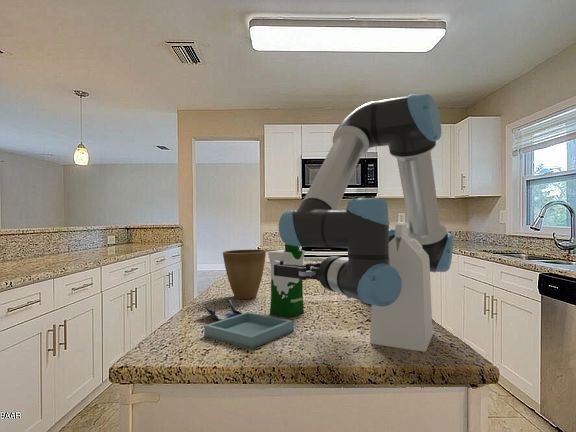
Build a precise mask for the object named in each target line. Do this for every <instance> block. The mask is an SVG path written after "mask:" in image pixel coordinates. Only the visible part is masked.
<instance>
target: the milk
mask: <svg viewBox="0 0 576 432" xmlns="http://www.w3.org/2000/svg"><path fill="white" fill-rule="evenodd" d="M407 228H408V225H407V223H395V227H394V229H395V237H394V238H393V239H392V240H391V241H390V242H389V265H390V266H392V267H394V268H395V269H396V270H397V271H398V272H399V275H400V277H401V279H402V289H401V293H400V295H399V297H398V298H397V300H396V301H395V302H393V303H392V304H390V305H388V306H384V307H383V306H376V305H371V308H370V309H371V310H370V312H371V313H370V336H369V344H371V345H377V346H378V345H379V346H386V347H390V348H391V347H392V348H398V349H405V350H412V351H418V352H419V351H420V352H427V350H428V348H429V345H430V342H431V340H432V337H433V335H434V332H433V331H434V329H433V312H432V311H433V309H432V307H433V306H432V291H431V290H432V289H431V287H432V286H431V272H430V262H429V256H428V254H427V253H426V252H425V250H424V249H423V248H422V245H421V244H420V243H419V242H418V241H417V240H416V239H414V238H413V239H412V238H411V237H410V236H408V230H407Z"/></svg>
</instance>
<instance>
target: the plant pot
mask: <svg viewBox="0 0 576 432" xmlns="http://www.w3.org/2000/svg"><path fill="white" fill-rule="evenodd" d="M266 254H267V250H265V249H235V250H234V249H233V250H226V251H225V250H224V251H222V256H223V262H224V268H225V272H226V277H227V279H228V282H229V287H230V288H231V291H232V293H233V294H232V295H233V296H234V298H235V299H238V300H249V299H250V300H251V299H255V298H256V297H257V295H258V292H259V289H260V287H261V286H260V285H261V282H262V278H263V274H264V269H265V263H266V256H267V255H266Z"/></svg>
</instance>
